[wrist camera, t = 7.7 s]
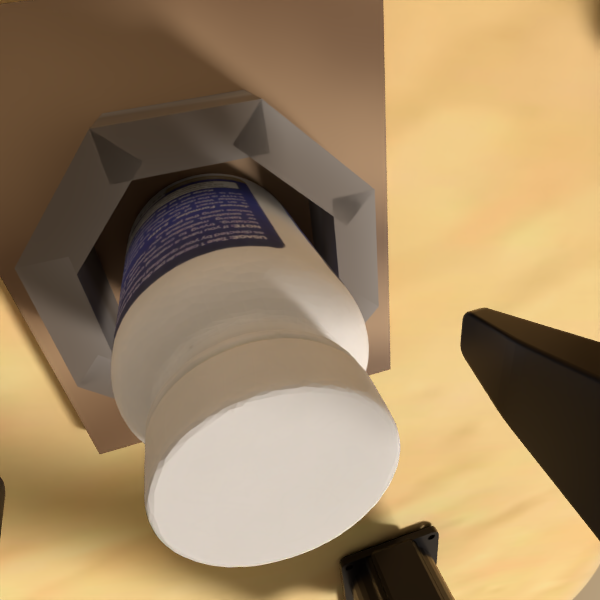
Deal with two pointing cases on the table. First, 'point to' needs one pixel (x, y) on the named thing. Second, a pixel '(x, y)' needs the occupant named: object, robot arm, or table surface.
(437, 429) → the table surface
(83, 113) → the collar board
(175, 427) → the pill bottle
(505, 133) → the table surface
